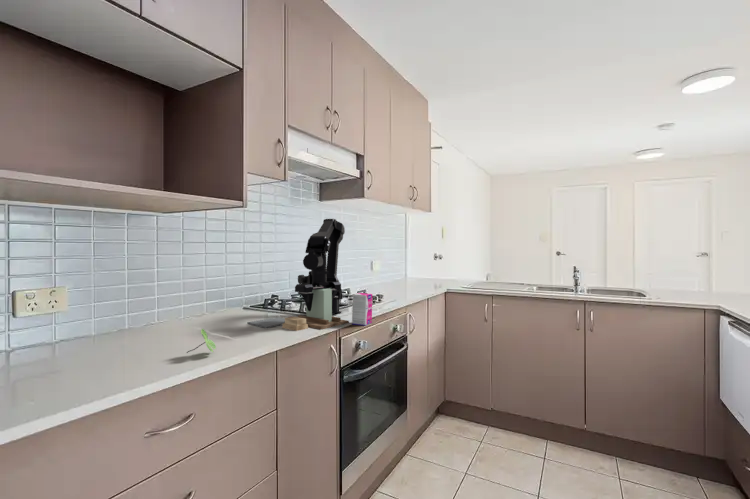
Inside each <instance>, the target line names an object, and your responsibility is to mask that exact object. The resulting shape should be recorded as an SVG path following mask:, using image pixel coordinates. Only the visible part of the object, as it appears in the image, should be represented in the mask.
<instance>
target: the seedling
mask: <svg viewBox="0 0 750 499" xmlns="http://www.w3.org/2000/svg"><path fill="white" fill-rule="evenodd" d="M200 334H201V335H202V337H203V339H204V342H203V343H201V344H199V345H198V346H196V347H195V348H194V349H191V350H188V351H187V352H186V353H185V354H188V353H190V352H192V351H195V350H197V349H198V348H199V347H201V346H203V345H204V344H206V347H207V349H208V350H209V351H210V352H212V353H214V350H216V348H217V345H216V343H215V342H214V341H213V340H212V339H210V338H209V337H208V334H207V332H206V330H205V329H204V328H201V329H200Z"/></svg>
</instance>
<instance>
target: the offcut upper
mask: <svg viewBox="0 0 750 499" xmlns="http://www.w3.org/2000/svg"><path fill="white" fill-rule="evenodd" d="M284 318H285V324H289V325H294V326H300V325H306V319H305V318H299V317H298V316H288V317H284Z"/></svg>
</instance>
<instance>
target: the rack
mask: <svg viewBox="0 0 750 499" xmlns="http://www.w3.org/2000/svg"><path fill="white" fill-rule="evenodd" d="M297 317H299V318H305V319H306V324H308V328H312V329H315V330H317V329H318V330H325V329H329V328H333V327H338V326H342V325H346V324H350V323H349V322H350V320H346V319H341V317H338V316H333V315H332V321H331V322H329V320H325V319H320V318H314V317H308V316H306V315H302V314H301V315H300V314H299V315H297Z"/></svg>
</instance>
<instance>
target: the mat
mask: <svg viewBox="0 0 750 499" xmlns="http://www.w3.org/2000/svg"><path fill="white" fill-rule="evenodd" d="M285 318H286V317H280V316H278V317H271V318H265V319H264V318H263V319H260V320H259V319H258V320H254V321H252V320H251V321H247V324H248V325H252V326H256V327H260V328H265V329H268V328H273V327H279V326H283V323H285Z"/></svg>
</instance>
